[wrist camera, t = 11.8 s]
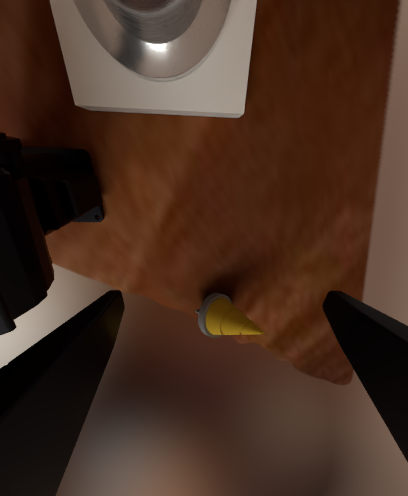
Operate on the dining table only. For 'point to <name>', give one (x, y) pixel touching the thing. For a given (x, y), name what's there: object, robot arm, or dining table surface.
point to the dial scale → (158, 61)
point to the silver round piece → (154, 18)
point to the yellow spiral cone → (223, 318)
